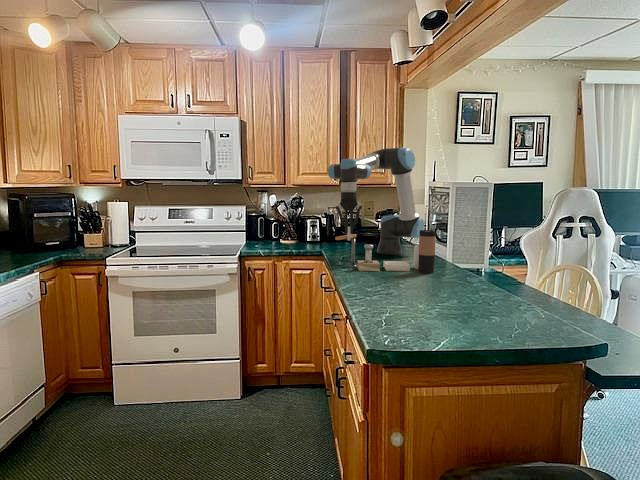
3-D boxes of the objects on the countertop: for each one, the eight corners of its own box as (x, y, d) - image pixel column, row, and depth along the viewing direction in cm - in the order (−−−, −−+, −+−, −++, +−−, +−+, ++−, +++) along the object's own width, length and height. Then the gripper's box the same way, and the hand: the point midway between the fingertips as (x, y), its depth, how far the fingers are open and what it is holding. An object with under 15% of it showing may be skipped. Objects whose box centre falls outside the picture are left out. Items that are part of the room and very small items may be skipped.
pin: (363, 268, 236) (363, 244, 235) (372, 268, 236) (372, 244, 235) (364, 269, 232) (364, 245, 230) (373, 269, 232) (373, 245, 230)
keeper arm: (352, 236, 241) (352, 233, 241) (357, 237, 239) (357, 234, 239) (334, 239, 227) (334, 236, 227) (339, 240, 225) (339, 237, 225)
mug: (421, 270, 232) (422, 247, 231) (409, 267, 240) (410, 245, 238) (439, 268, 238) (440, 246, 237) (427, 265, 246) (428, 244, 245)
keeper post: (348, 265, 243) (349, 237, 241) (356, 265, 243) (357, 237, 241) (349, 267, 239) (349, 238, 237) (357, 267, 239) (357, 238, 237)
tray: (383, 266, 241) (383, 261, 240) (405, 267, 241) (405, 261, 240) (386, 270, 229) (386, 264, 229) (409, 271, 229) (409, 265, 229)
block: (357, 267, 239) (357, 260, 238) (377, 267, 239) (377, 260, 239) (358, 270, 229) (359, 263, 229) (379, 271, 229) (379, 263, 229)
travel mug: (415, 272, 226) (417, 230, 223) (420, 270, 232) (421, 229, 230) (431, 274, 222) (433, 231, 220) (436, 271, 229) (437, 230, 226)
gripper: (335, 191, 225) (336, 241, 227) (362, 191, 225) (362, 240, 227) (335, 191, 232) (335, 239, 235) (361, 191, 232) (361, 239, 235)
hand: (348, 240), depth 231 cm, fingers closed
